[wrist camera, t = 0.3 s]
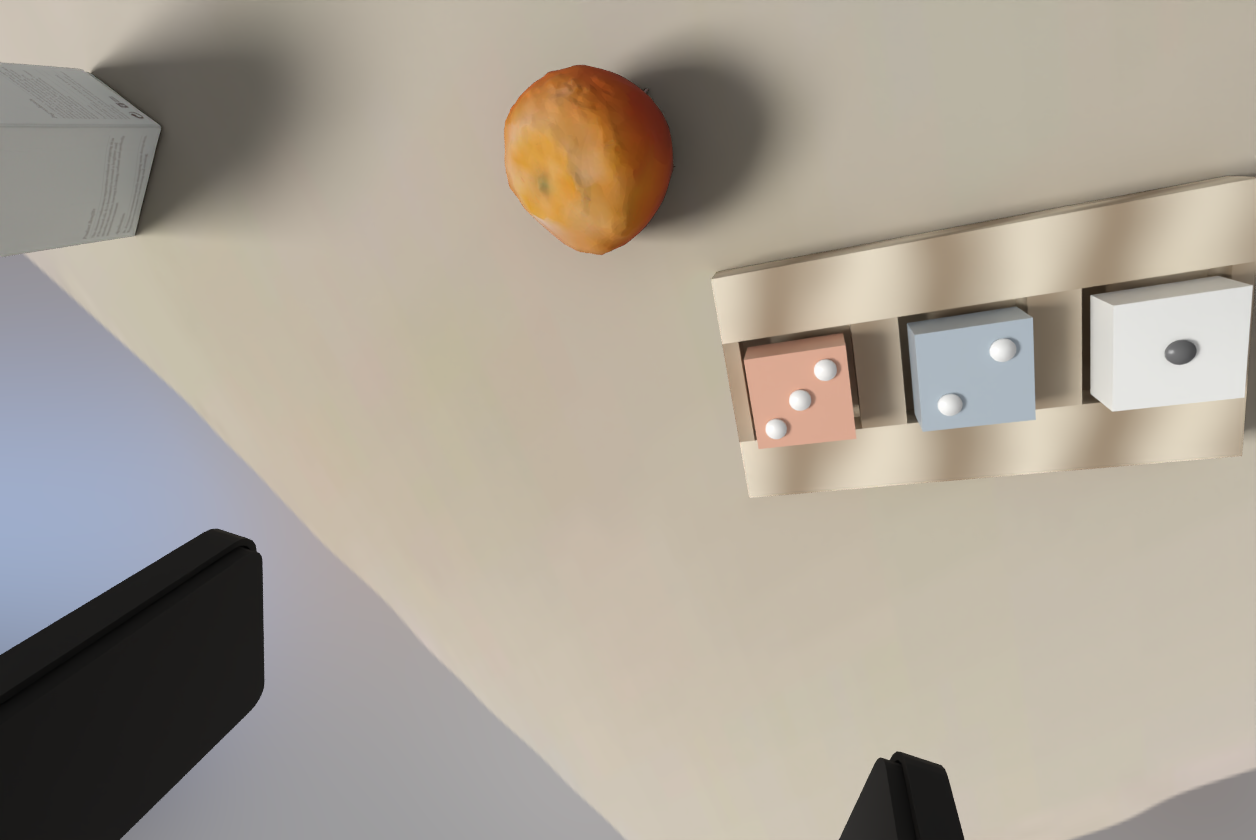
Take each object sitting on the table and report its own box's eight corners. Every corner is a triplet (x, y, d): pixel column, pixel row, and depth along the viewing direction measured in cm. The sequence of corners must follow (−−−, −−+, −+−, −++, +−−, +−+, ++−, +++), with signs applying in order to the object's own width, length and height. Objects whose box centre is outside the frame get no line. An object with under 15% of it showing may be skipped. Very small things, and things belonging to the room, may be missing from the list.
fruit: (746, 170, 31) (641, 229, 27) (644, 236, 38) (545, 293, 33) (660, 6, 30) (533, 39, 25) (569, 103, 36) (454, 144, 31)
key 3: (842, 332, 32) (845, 346, 30) (853, 420, 34) (856, 440, 31) (747, 347, 34) (743, 361, 31) (761, 431, 35) (758, 450, 33)
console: (1227, 175, 28) (1262, 177, 26) (1212, 436, 32) (1242, 455, 30) (716, 272, 35) (710, 279, 33) (752, 478, 38) (749, 497, 36)
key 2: (1016, 306, 30) (1034, 318, 28) (1019, 401, 31) (1037, 421, 29) (906, 323, 31) (915, 336, 29) (914, 413, 33) (923, 433, 30)
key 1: (1217, 275, 28) (1256, 286, 25) (1211, 380, 29) (1247, 399, 27) (1090, 295, 29) (1115, 306, 27) (1090, 393, 30) (1114, 413, 28)
